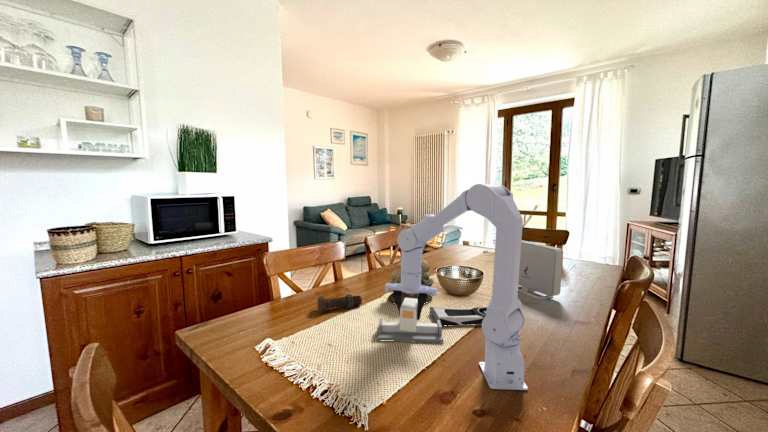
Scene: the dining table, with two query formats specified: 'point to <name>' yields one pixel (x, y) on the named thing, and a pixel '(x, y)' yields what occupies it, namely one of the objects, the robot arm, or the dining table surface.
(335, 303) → the bolt
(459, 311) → the graphics card
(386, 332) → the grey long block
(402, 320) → the block
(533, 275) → the network device
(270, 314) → the dining table surface
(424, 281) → the tan lumpy piece
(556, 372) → the dining table surface
